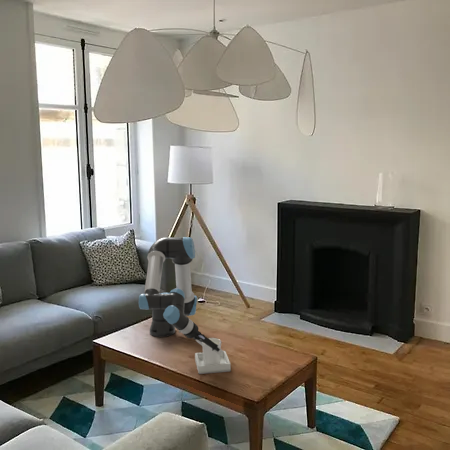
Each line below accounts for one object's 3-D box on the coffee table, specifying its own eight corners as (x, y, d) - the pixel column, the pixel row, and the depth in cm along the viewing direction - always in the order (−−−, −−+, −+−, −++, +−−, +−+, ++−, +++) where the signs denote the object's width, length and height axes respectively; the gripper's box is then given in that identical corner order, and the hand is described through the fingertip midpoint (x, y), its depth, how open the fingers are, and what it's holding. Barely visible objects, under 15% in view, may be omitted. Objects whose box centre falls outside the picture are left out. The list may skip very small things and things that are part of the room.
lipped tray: (195, 360, 272) (194, 353, 271) (225, 357, 275) (225, 350, 274) (198, 374, 257) (198, 366, 256) (230, 371, 259) (230, 363, 258)
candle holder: (219, 368, 260) (218, 346, 258) (200, 367, 262) (199, 344, 260) (223, 360, 269) (223, 338, 267) (204, 358, 271) (204, 337, 269)
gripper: (169, 327, 260) (194, 347, 272) (199, 342, 241) (224, 363, 253) (177, 314, 263) (202, 335, 275) (207, 328, 244) (232, 350, 256)
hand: (212, 348), depth 264 cm, fingers open, 13 cm apart
